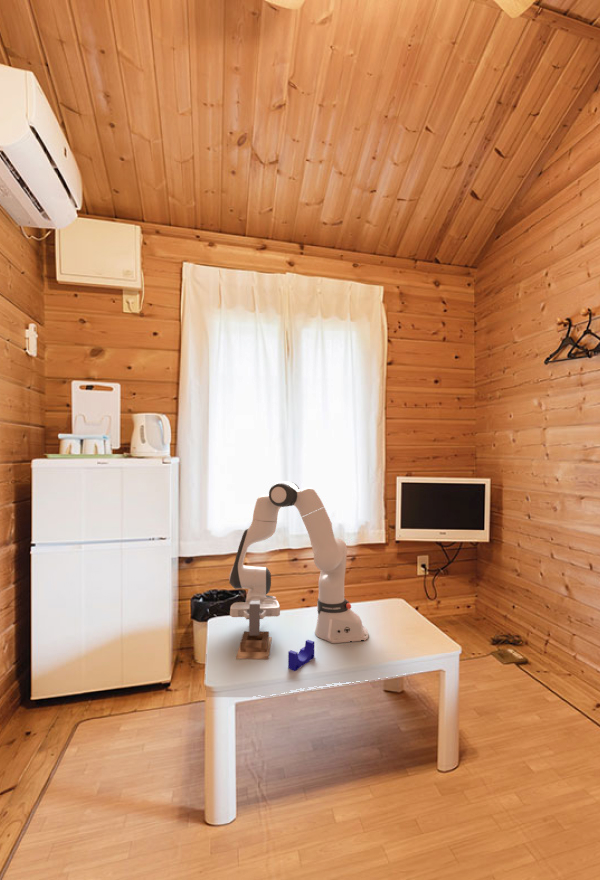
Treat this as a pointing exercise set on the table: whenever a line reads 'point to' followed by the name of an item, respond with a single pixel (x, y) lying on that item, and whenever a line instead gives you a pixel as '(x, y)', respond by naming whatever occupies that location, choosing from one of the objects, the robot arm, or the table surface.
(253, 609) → the peg
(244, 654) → the socket board
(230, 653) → the table surface
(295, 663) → the blue cradle bracket
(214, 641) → the table surface
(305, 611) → the table surface
